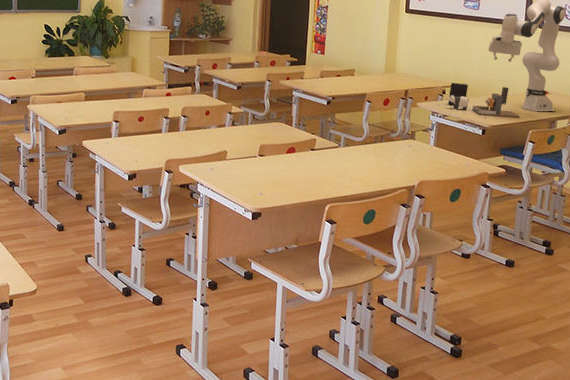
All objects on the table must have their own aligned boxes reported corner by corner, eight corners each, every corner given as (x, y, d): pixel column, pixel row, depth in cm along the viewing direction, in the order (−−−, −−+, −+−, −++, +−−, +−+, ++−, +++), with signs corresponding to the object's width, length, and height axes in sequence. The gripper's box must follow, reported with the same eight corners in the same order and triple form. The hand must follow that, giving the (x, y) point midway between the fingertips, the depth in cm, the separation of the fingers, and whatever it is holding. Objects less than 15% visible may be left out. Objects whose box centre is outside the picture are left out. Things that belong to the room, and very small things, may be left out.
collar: (489, 105, 545) (491, 97, 543) (492, 107, 539) (493, 99, 538) (487, 105, 545) (488, 97, 543) (489, 107, 539) (491, 99, 537)
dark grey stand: (511, 113, 552) (514, 94, 549) (519, 117, 537) (522, 98, 533) (472, 110, 550) (474, 91, 546) (479, 115, 535) (482, 95, 531)
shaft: (504, 104, 544) (507, 87, 540) (505, 105, 541) (508, 88, 537) (485, 102, 542) (487, 85, 539) (486, 103, 540) (489, 86, 536)
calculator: (464, 105, 564) (467, 84, 560) (464, 106, 560) (468, 85, 556) (448, 104, 565) (451, 82, 561) (448, 105, 561) (451, 83, 557)
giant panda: (466, 109, 552) (468, 95, 549) (468, 110, 547) (470, 96, 544) (444, 107, 552) (447, 93, 549) (446, 109, 546) (448, 94, 543)
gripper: (521, 41, 534) (517, 62, 537) (490, 36, 534) (486, 58, 537) (523, 41, 528) (519, 63, 531) (492, 37, 527) (488, 58, 531)
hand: (502, 60), depth 534 cm, fingers open, 8 cm apart
